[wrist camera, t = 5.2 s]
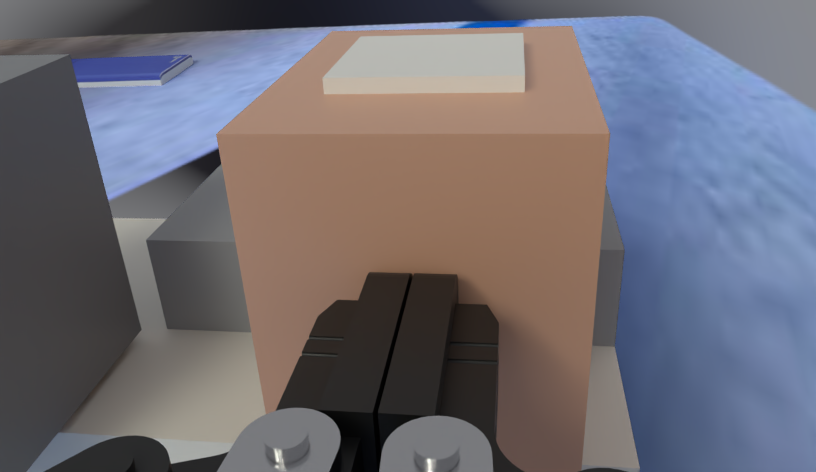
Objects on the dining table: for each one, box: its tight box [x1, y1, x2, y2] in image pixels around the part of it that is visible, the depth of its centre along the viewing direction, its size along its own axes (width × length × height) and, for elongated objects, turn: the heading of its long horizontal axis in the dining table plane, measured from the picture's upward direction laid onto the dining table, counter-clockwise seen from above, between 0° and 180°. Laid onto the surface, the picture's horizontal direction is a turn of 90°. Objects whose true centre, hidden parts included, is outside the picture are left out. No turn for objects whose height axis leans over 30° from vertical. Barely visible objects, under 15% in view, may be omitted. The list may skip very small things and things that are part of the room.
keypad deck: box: [27, 164, 640, 472], centre depth 23 cm, size 21×12×7 cm, turn 82°
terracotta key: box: [216, 26, 610, 472], centre depth 16 cm, size 6×8×8 cm
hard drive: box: [71, 55, 193, 88], centre depth 68 cm, size 2×8×12 cm
